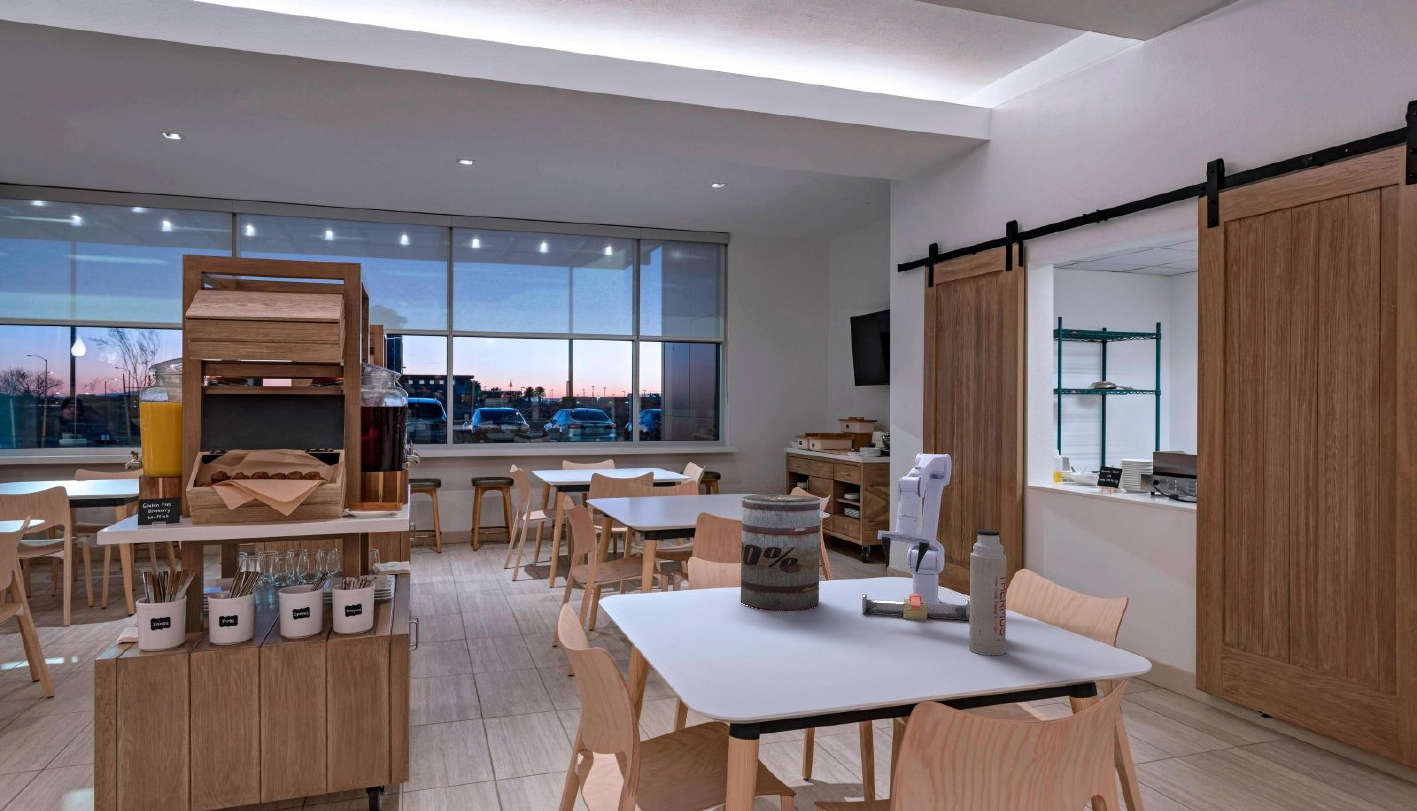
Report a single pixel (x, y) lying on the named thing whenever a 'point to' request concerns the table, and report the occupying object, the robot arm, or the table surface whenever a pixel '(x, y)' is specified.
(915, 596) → the lever
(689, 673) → the table surface
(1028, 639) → the table surface
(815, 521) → the barrel
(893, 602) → the pipe and valve
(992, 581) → the thermos bottle
